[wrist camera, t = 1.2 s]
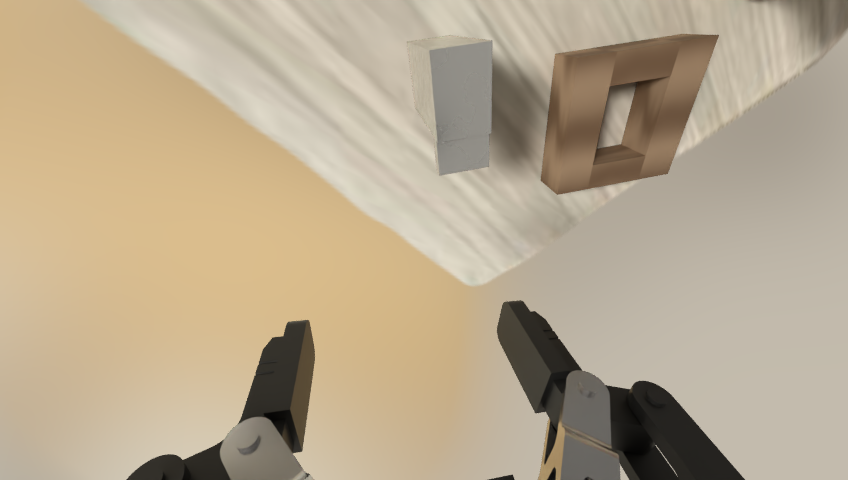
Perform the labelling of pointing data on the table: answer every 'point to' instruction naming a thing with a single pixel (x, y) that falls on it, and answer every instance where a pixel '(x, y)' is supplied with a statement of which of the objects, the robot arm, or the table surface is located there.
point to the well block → (648, 119)
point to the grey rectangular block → (454, 98)
